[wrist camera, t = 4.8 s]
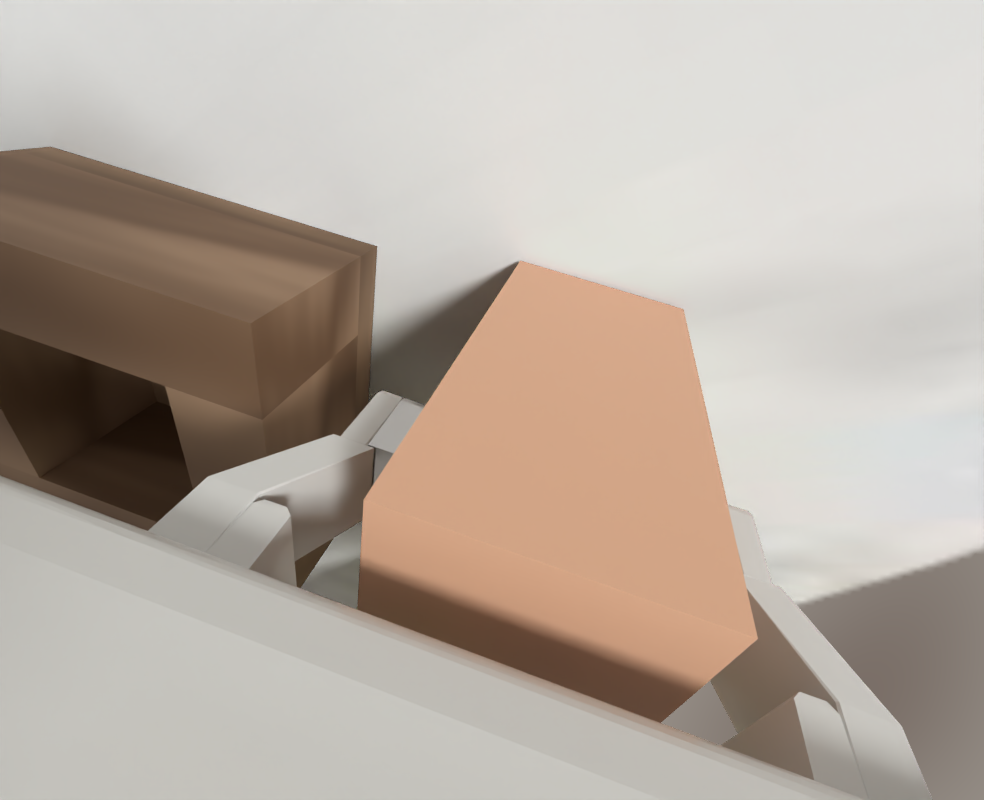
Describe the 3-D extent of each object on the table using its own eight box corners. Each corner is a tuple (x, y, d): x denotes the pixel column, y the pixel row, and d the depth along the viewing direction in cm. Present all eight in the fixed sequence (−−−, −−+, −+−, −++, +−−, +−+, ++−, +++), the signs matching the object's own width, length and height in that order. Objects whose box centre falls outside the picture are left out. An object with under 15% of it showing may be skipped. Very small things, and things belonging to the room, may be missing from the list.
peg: (520, 260, 12) (363, 499, 5) (683, 309, 12) (757, 638, 5) (487, 391, 15) (353, 670, 8) (620, 435, 15) (608, 768, 8)
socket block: (50, 146, 14) (-211, 171, 10) (377, 246, 13) (250, 323, 9) (138, 415, 21) (5, 502, 16) (362, 494, 20) (285, 610, 15)
